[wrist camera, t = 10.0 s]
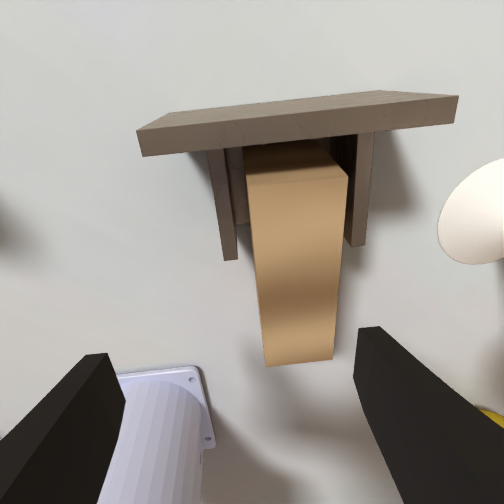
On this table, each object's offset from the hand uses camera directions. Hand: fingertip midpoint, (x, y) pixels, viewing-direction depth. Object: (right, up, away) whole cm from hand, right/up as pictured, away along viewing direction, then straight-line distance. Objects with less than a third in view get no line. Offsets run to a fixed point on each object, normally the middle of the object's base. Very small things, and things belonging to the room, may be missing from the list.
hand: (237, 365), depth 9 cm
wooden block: (+2, +4, +8) cm, 10 cm away
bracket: (+2, +8, +7) cm, 11 cm away
